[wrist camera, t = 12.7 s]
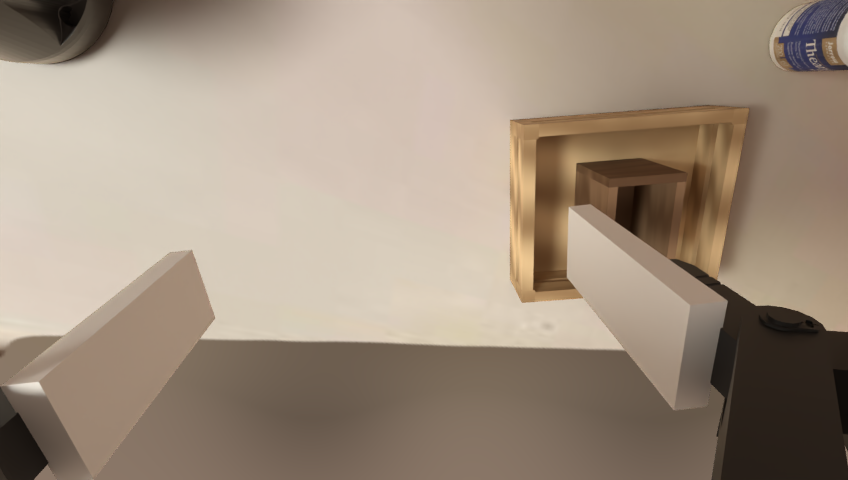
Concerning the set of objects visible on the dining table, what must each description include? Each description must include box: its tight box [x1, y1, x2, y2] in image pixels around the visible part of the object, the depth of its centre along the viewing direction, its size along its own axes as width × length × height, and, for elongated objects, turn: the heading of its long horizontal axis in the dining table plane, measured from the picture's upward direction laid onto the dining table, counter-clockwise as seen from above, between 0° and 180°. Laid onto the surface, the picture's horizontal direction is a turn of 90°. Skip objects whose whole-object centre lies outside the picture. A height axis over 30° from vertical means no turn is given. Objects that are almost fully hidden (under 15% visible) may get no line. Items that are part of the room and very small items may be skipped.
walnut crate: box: [574, 158, 688, 259], centre depth 37 cm, size 8×6×7 cm
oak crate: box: [510, 105, 749, 303], centre depth 39 cm, size 16×18×5 cm
